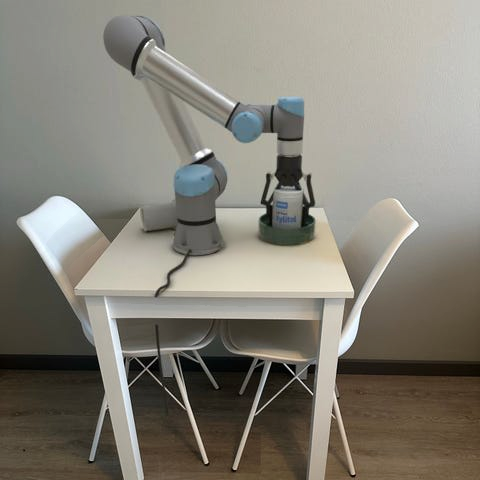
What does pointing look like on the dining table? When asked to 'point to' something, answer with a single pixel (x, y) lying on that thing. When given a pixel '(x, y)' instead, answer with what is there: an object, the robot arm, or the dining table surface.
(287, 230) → the dark green bowl
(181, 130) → the robot arm
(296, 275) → the dining table surface
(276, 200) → the supplement tub
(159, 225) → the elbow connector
